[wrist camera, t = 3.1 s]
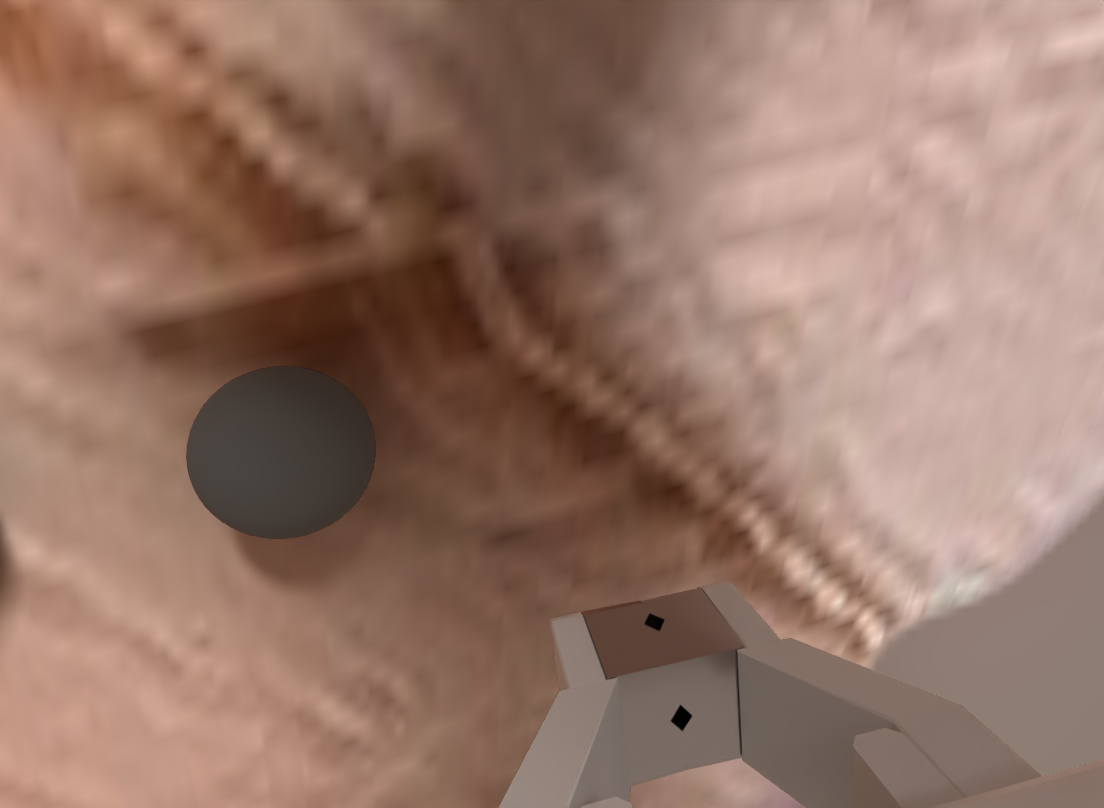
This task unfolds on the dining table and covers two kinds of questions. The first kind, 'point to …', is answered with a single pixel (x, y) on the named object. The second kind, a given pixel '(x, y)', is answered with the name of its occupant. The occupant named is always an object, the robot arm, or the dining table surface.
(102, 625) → the dining table surface
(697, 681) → the robot arm
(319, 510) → the dark grey ball
